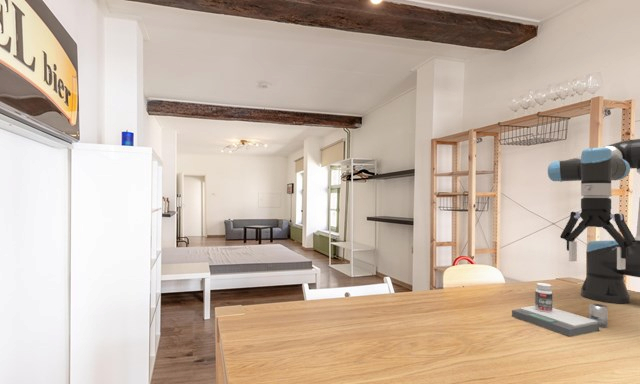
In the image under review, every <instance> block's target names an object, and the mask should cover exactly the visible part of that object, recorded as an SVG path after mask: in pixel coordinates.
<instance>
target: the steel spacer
mask: <svg viewBox="0 0 640 384" xmlns="http://www.w3.org/2000/svg"><path fill="white" fill-rule="evenodd" d="M588 305H589V306H588V308H589V309H588V311H589V316H588V318H589V319H592V320H596V321H598V323H599V328H608V306H607V305H603V304H599V303H589V304H588Z"/></svg>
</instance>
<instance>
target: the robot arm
mask: <svg viewBox="0 0 640 384" xmlns="http://www.w3.org/2000/svg"><path fill="white" fill-rule="evenodd" d="M631 169H636V172H637V173H638V174H639V175H640V138H636V139H626V140H622V141H619V142H618V141H617V142H614V143H611V144H608V145H606V146H602V147H592V148H591V147H590V148H585V149H583V150H582V151H581V156H577V157H576V156H575V157H573V158H570V159H566V160H557V161H552V162H550V163H549V164H548V166H547V177H548V178H549V179H550V181H552V182H561V183H562V182H576V181H577V182H579V181H580V196H581V198H580V210H581V212H578V211H570V215H569V219H568V221H567V222H566V225H565V227H564V229H562V232H561V234H560V239H562V240H565V241H566V250H567V251H568V261H569V262H577V256H578V254H577V253H578V249H577V247H578V244H577V243H578V241H575V240H576V239H577V238H578V237H579V236H580V235H581V234H582V233H583V232H584V231H585V230H586V229H587V228H588V227H589V228H590V227H591V228H592V227H595V228H602V229H603V230H605V231H606V232H607V233H608V235H610V236H611V238H612V239H613V240H592V241H589V242H587V245H586V251H585V252H586V257H585V258H586V274H585V275H586V277H585V279H584V282H583V284H582V286H581V288H580V295H581V296H582V297H585V298H587V299H590V300H595V301H599V302H605V303H611V304H629V303H630V299H631V298H630V294H629V292H628V288H627V287H626V284H625V280H624V279H625V276H628V277H634V278H635V277H636V278H640V198H639V200H638V211H637V212H638V213H637V226H636V235H635V237H634V235H633V234H632V232H631V229H630V227H629V226H628V225H627V223H626V220H625V216H624V214H623V213H613V214H612V199H611V198H610V197H611V196H612V181H620V180H623V179H624V178H627V176H628V175H629V174H630V172H631ZM579 219H581V221H580V222H579ZM611 220H613V221H614V223H615V225H616V226H617V228H618V230H619V231H618V230H617V229H616V228H615V226H614V225H613V223H611ZM578 222H579V223H578ZM577 223H578V225H577ZM576 225H577V226H576Z"/></svg>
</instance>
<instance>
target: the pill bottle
mask: <svg viewBox="0 0 640 384" xmlns="http://www.w3.org/2000/svg"><path fill="white" fill-rule="evenodd" d="M534 293H535V296H534V306H535V309H536V310H539V311H543V312H552V308H553V291H552V285H551V284H550V283H545V282H537V283H536V289H535V292H534Z"/></svg>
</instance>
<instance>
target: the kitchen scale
mask: <svg viewBox="0 0 640 384" xmlns="http://www.w3.org/2000/svg"><path fill="white" fill-rule="evenodd" d="M511 316H512V317H513V318H514V319H515V318H516V319H518V320H521V321H524V322H527V323H529V324H533V325H535V326H538V327H541V328H543V327H544V329H547V330H550V331H553V332H554V333H558V334H561V335H563V336H566V337H569V338H570V337H574V336H579V335H585V334H588V333H593V332H598V331H600V327H599V323H598V321H596V320H592V319H589V317H585V316H582V315H578V314H576V313H572V312H569V311H564V310H561V309H558V308H554V307H552V312H543V311H539V310H536V309H535V305H531V306H524V307H519V308H517V309H512V310H511Z"/></svg>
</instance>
